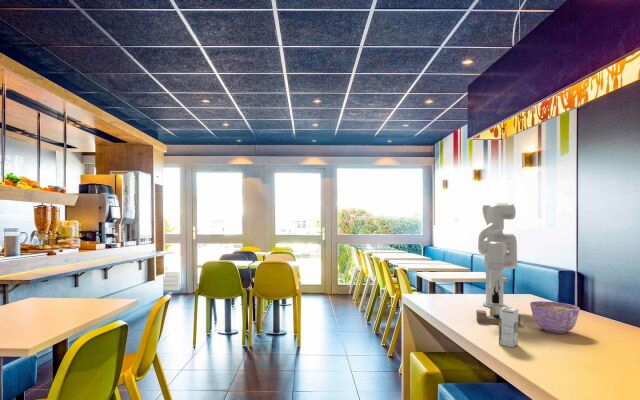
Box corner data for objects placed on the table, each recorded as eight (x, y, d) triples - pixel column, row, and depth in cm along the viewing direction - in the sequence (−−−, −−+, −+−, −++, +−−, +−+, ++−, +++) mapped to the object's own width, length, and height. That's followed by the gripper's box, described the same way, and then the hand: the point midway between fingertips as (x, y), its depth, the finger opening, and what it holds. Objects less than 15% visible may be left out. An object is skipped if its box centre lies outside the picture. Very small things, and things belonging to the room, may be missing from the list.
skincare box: (501, 310, 221) (508, 306, 210) (502, 319, 219) (509, 315, 208) (488, 309, 222) (494, 305, 211) (489, 318, 220) (495, 314, 209)
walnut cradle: (476, 319, 216) (476, 309, 217) (517, 323, 212) (517, 312, 212) (477, 322, 211) (477, 312, 211) (519, 325, 206) (520, 315, 206)
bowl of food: (587, 338, 186) (587, 311, 186) (536, 335, 190) (536, 308, 190) (570, 327, 205) (570, 302, 206) (524, 324, 209) (524, 300, 210)
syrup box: (503, 341, 178) (503, 306, 178) (518, 344, 174) (518, 308, 175) (498, 344, 173) (498, 308, 174) (514, 347, 170) (514, 310, 170)
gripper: (486, 264, 228) (485, 299, 227) (489, 267, 214) (489, 305, 213) (501, 265, 226) (501, 300, 225) (506, 268, 212) (505, 306, 211)
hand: (495, 302), depth 219 cm, fingers closed
